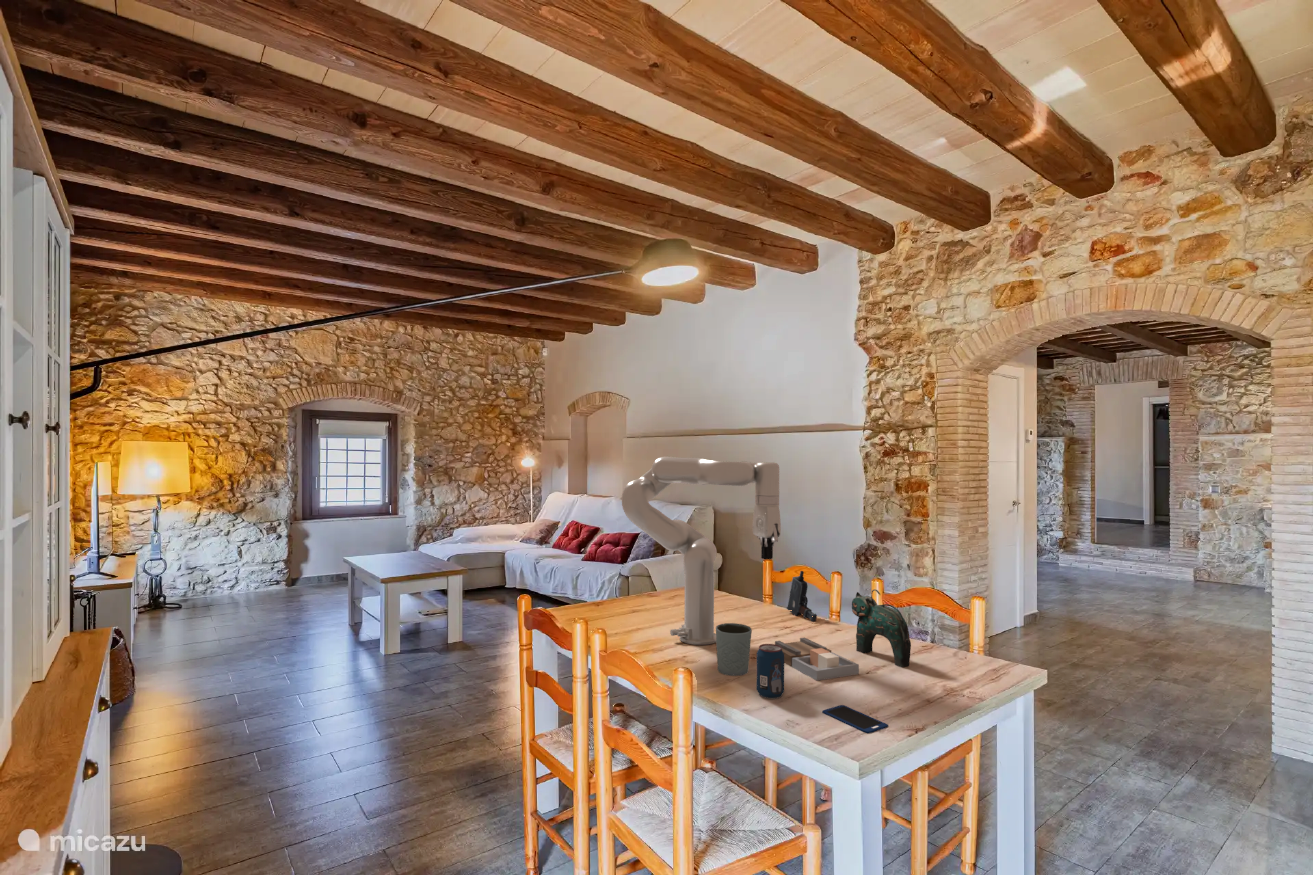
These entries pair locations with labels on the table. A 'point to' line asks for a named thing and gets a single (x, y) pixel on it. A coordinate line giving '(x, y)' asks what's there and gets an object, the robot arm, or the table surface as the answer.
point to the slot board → (798, 649)
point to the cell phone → (855, 719)
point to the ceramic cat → (881, 627)
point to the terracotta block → (816, 655)
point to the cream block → (827, 660)
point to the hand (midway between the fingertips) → (767, 558)
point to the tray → (812, 671)
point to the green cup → (733, 648)
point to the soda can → (770, 671)
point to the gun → (800, 598)
